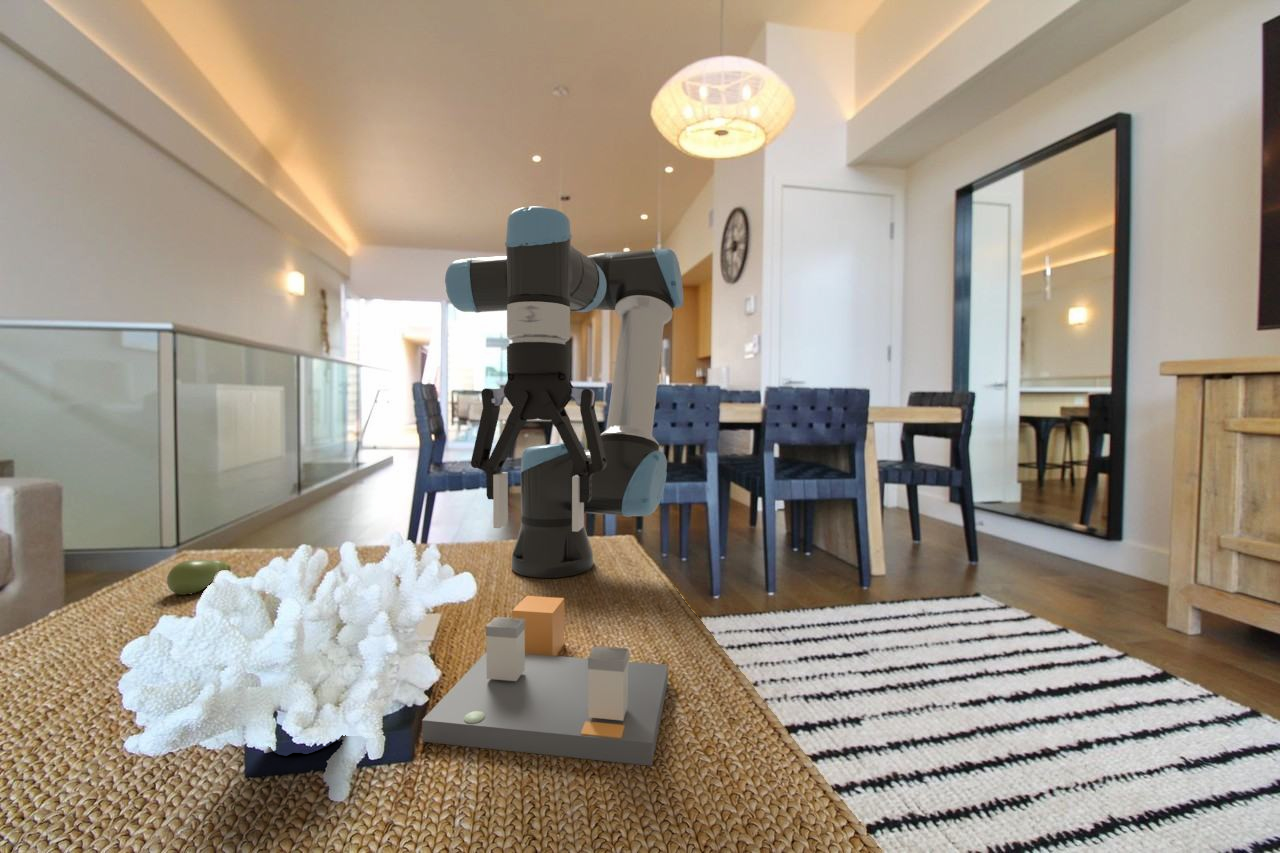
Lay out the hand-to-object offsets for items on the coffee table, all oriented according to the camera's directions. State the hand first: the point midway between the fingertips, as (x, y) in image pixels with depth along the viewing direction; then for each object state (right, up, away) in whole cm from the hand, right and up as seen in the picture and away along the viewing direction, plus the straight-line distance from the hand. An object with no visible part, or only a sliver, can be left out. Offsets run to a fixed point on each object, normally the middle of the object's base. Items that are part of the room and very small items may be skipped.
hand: (539, 527), depth 67 cm
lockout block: (0, -16, +1) cm, 16 cm away
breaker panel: (+4, -16, -12) cm, 21 cm away
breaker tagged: (+9, -14, -17) cm, 24 cm away
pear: (-59, -14, +22) cm, 65 cm away
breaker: (-2, -14, -10) cm, 17 cm away
